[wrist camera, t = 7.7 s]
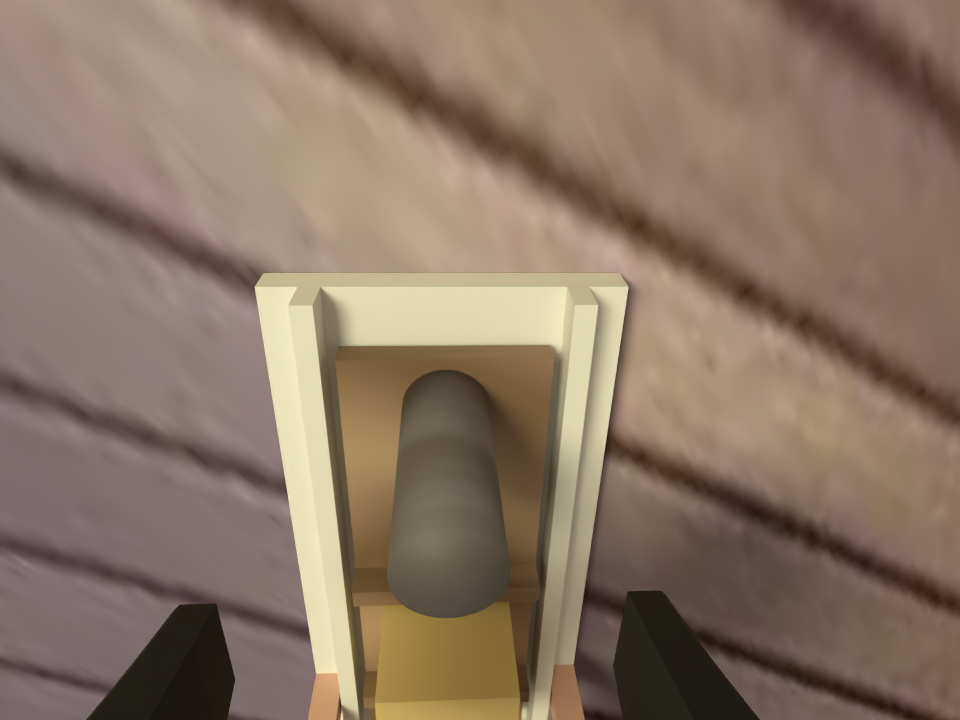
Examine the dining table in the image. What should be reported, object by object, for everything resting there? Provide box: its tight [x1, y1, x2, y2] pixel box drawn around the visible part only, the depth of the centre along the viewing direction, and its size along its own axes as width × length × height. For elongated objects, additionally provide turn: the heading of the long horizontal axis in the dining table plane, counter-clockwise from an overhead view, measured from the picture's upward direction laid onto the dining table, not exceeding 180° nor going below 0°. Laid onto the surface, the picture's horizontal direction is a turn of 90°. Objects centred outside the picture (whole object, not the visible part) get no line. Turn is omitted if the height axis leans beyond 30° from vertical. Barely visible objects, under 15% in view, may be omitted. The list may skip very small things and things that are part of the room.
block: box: [375, 602, 520, 720], centre depth 20 cm, size 4×4×4 cm
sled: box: [335, 345, 554, 720], centre depth 19 cm, size 16×6×7 cm, turn 179°
